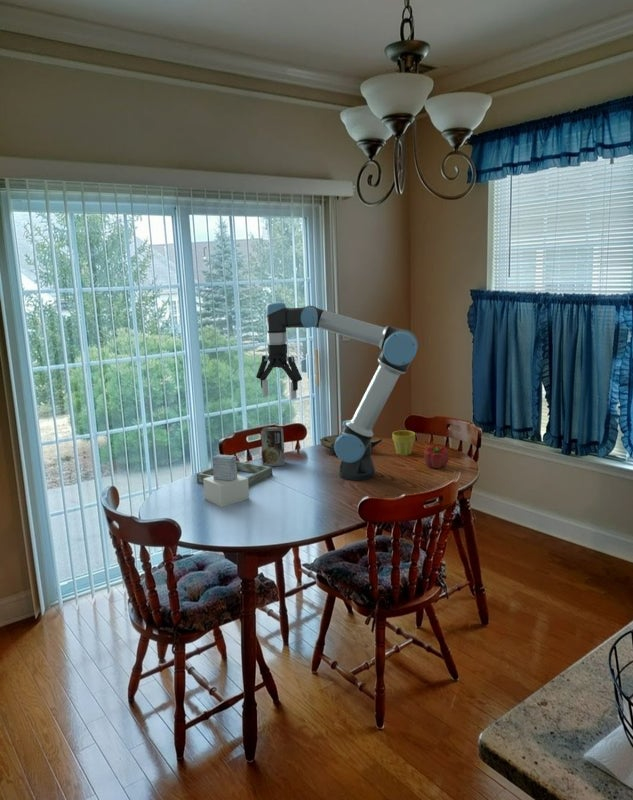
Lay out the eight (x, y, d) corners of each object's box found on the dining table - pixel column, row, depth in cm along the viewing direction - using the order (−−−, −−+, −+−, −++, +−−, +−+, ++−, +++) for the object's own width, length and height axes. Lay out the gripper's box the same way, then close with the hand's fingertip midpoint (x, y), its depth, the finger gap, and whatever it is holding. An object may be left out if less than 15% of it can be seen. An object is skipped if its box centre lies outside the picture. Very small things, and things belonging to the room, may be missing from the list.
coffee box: (285, 461, 271) (283, 426, 268) (282, 466, 265) (281, 430, 261) (265, 461, 272) (263, 426, 269) (262, 466, 265) (260, 430, 262)
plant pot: (409, 457, 271) (409, 436, 269) (388, 454, 277) (388, 434, 275) (418, 452, 280) (418, 431, 278) (398, 449, 285) (398, 429, 284)
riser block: (249, 498, 226) (248, 478, 224) (221, 507, 218) (220, 486, 217) (231, 491, 235) (230, 471, 233) (204, 499, 227) (203, 478, 226)
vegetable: (449, 471, 250) (449, 448, 248) (424, 471, 252) (424, 448, 250) (448, 464, 261) (448, 441, 259) (423, 463, 263) (423, 441, 261)
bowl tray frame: (272, 475, 252) (272, 467, 252) (239, 490, 235) (239, 482, 234) (231, 467, 264) (231, 460, 264) (197, 481, 247) (196, 473, 246)
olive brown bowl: (344, 441, 302) (343, 426, 301) (388, 453, 280) (388, 437, 278) (310, 450, 288) (309, 435, 286) (354, 463, 265) (353, 446, 264)
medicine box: (237, 477, 226) (236, 455, 224) (232, 481, 221) (230, 458, 220) (219, 476, 228) (217, 454, 227) (213, 479, 224) (211, 457, 222)
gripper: (309, 343, 229) (311, 398, 233) (257, 341, 243) (260, 393, 247) (298, 345, 223) (300, 401, 227) (245, 343, 236) (248, 396, 240)
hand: (279, 397), depth 237 cm, fingers open, 13 cm apart
